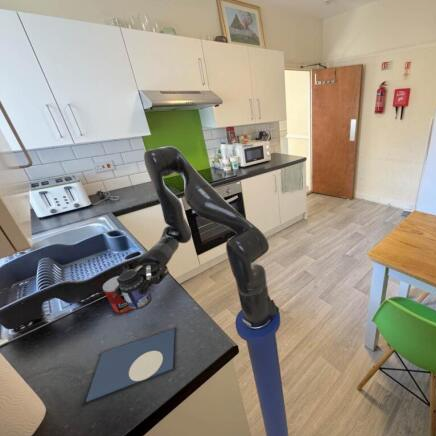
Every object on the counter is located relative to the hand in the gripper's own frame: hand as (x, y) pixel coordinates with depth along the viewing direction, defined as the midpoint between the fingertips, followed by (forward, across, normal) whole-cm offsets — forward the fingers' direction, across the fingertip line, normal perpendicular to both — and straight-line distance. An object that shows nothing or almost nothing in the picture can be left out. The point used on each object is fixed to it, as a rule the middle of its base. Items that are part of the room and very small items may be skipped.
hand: (128, 292), depth 68 cm
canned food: (-13, -15, +18) cm, 27 cm away
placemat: (+9, +1, +18) cm, 20 cm away
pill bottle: (-2, 0, +7) cm, 7 cm away
